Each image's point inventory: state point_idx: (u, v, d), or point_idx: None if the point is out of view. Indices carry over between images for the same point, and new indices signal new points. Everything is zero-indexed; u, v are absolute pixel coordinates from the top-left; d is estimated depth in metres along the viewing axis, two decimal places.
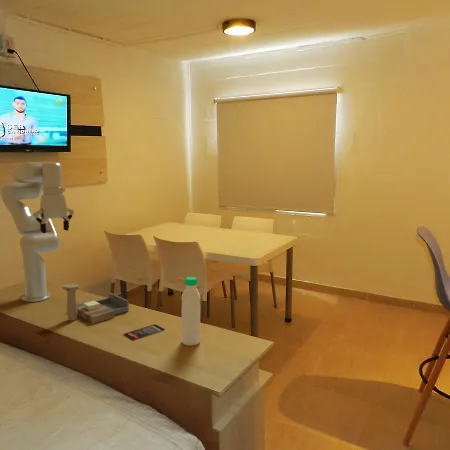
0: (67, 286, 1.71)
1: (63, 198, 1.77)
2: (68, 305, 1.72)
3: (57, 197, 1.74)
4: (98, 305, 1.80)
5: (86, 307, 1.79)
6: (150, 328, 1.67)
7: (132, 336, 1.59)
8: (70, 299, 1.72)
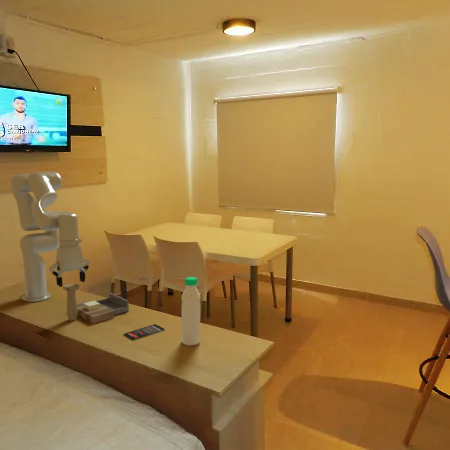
0: (67, 286, 1.71)
1: (80, 249, 1.71)
2: (68, 305, 1.72)
3: (74, 249, 1.69)
4: (98, 305, 1.80)
5: (86, 307, 1.79)
6: (150, 328, 1.67)
7: (132, 336, 1.59)
8: (70, 299, 1.72)
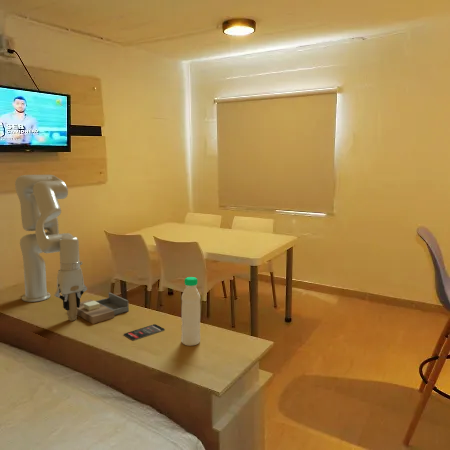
0: None
1: (80, 272, 1.73)
2: None
3: (74, 272, 1.70)
4: (98, 305, 1.80)
5: (86, 307, 1.79)
6: (150, 328, 1.67)
7: (132, 336, 1.59)
8: (70, 299, 1.72)
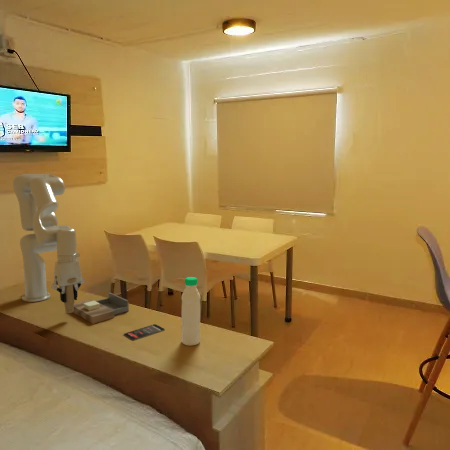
0: None
1: (78, 264, 1.71)
2: None
3: (72, 264, 1.69)
4: (98, 305, 1.80)
5: (86, 307, 1.79)
6: (150, 328, 1.67)
7: (132, 336, 1.59)
8: (67, 291, 1.70)
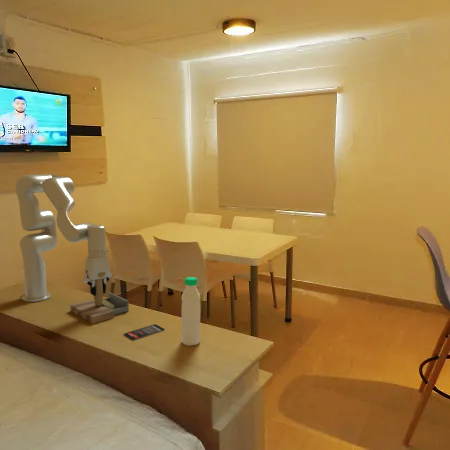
0: None
1: (107, 259, 1.81)
2: None
3: (101, 259, 1.79)
4: (112, 306, 1.86)
5: None
6: (150, 328, 1.67)
7: (132, 336, 1.59)
8: (97, 285, 1.80)
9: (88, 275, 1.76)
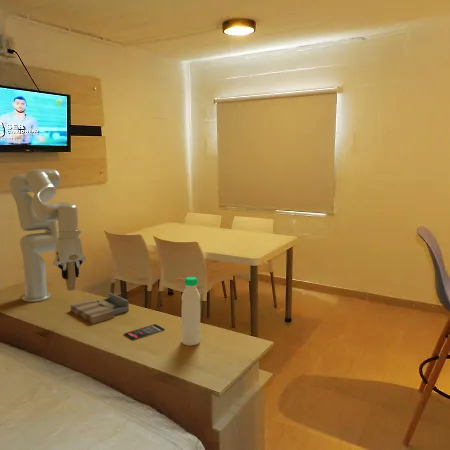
0: None
1: (79, 241, 1.70)
2: None
3: (73, 240, 1.68)
4: (112, 306, 1.86)
5: (102, 302, 1.84)
6: (150, 328, 1.67)
7: (131, 336, 1.59)
8: (69, 268, 1.69)
9: (59, 257, 1.66)
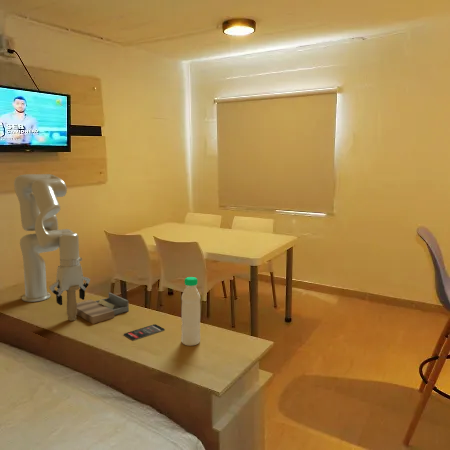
0: None
1: (80, 268, 1.72)
2: (68, 305, 1.72)
3: (74, 268, 1.70)
4: (112, 306, 1.86)
5: (102, 302, 1.84)
6: (150, 328, 1.67)
7: (131, 336, 1.59)
8: (70, 299, 1.72)
9: (60, 285, 1.68)
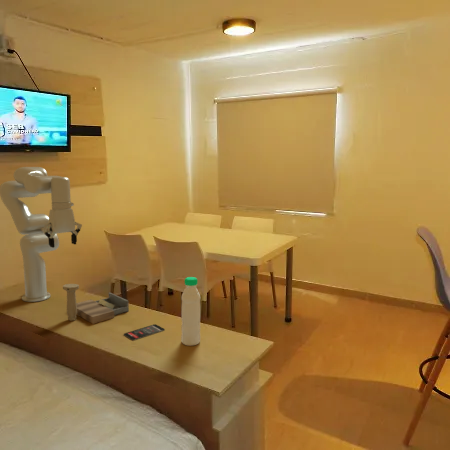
0: (67, 286, 1.71)
1: (71, 212, 1.77)
2: (68, 305, 1.72)
3: (65, 211, 1.75)
4: (112, 306, 1.86)
5: (102, 302, 1.84)
6: (150, 328, 1.67)
7: (131, 336, 1.59)
8: (70, 299, 1.72)
9: (51, 227, 1.73)
